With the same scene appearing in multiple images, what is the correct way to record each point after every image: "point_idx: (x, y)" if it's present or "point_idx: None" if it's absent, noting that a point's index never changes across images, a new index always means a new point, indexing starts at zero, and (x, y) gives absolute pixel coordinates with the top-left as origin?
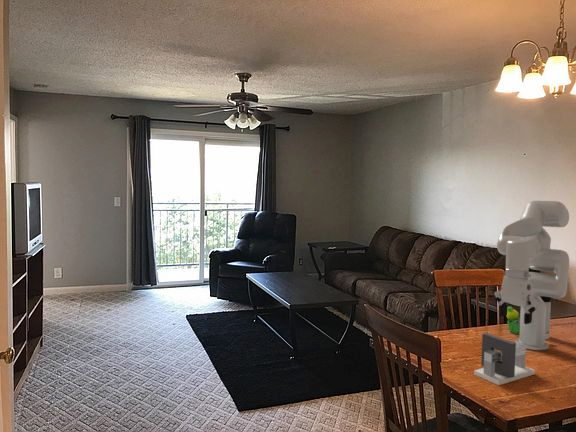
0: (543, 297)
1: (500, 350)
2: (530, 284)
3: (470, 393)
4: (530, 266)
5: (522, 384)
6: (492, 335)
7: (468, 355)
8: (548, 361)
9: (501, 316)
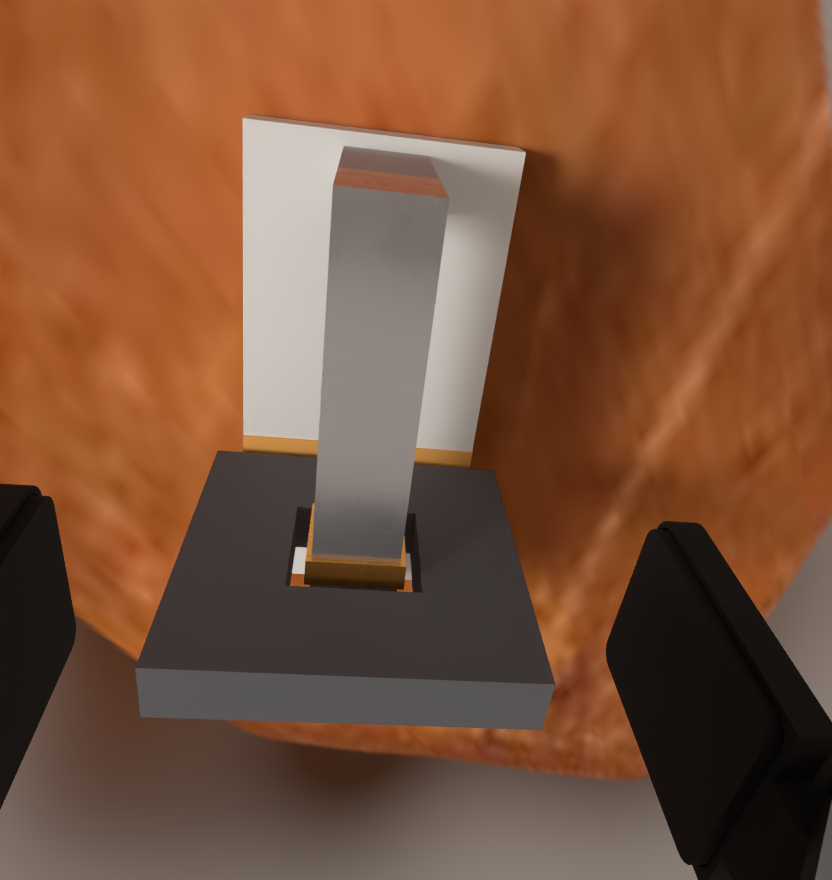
0: None
1: (368, 586)
2: None
3: (409, 736)
4: None
5: (540, 429)
6: (241, 679)
7: None
8: None
9: (65, 631)
